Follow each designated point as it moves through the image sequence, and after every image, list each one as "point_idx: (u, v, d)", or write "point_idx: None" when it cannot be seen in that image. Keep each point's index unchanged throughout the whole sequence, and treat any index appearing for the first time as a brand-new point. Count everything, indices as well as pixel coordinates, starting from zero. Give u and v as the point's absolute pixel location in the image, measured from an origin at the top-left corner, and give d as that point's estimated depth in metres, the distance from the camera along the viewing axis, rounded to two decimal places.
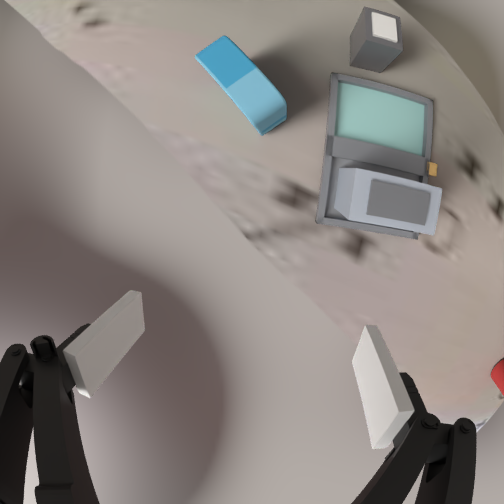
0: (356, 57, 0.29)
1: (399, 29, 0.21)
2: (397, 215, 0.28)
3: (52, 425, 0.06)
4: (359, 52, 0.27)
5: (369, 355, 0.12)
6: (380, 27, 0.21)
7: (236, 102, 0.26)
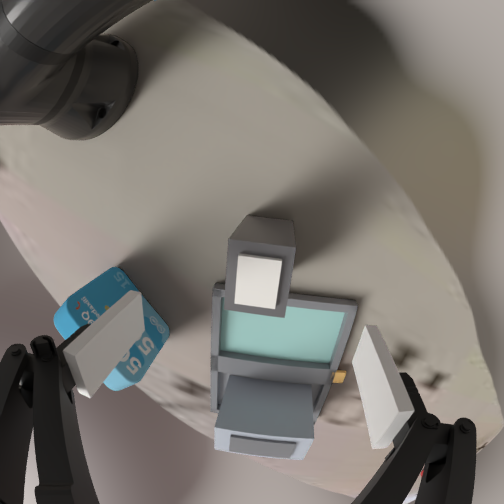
0: None
1: (287, 277, 0.21)
2: (258, 453, 0.28)
3: (52, 425, 0.06)
4: None
5: (369, 355, 0.12)
6: (248, 288, 0.21)
7: None
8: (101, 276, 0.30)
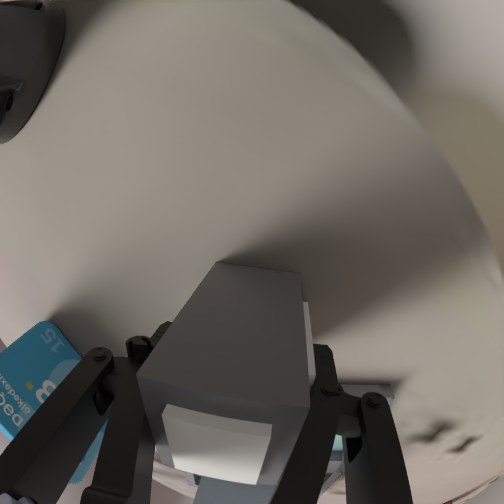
0: None
1: (284, 448, 0.07)
2: None
3: (128, 431, 0.06)
4: None
5: None
6: (196, 460, 0.07)
7: None
8: (22, 338, 0.16)
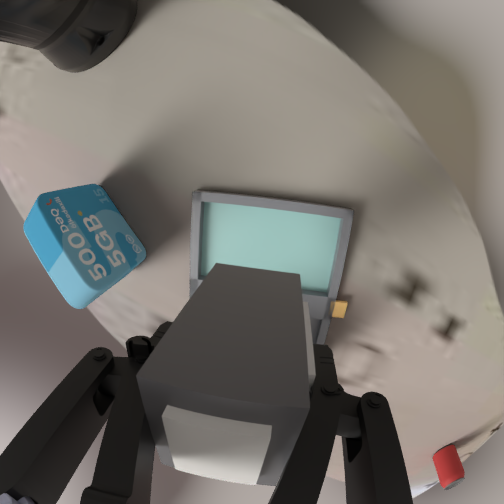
0: None
1: (284, 449, 0.07)
2: None
3: (128, 431, 0.06)
4: None
5: None
6: (196, 460, 0.07)
7: None
8: (80, 187, 0.27)
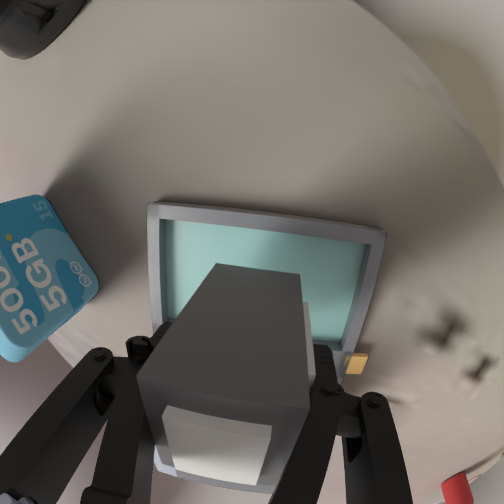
0: None
1: (284, 449, 0.07)
2: (224, 485, 0.15)
3: (128, 431, 0.06)
4: None
5: None
6: (196, 460, 0.07)
7: None
8: (15, 200, 0.17)
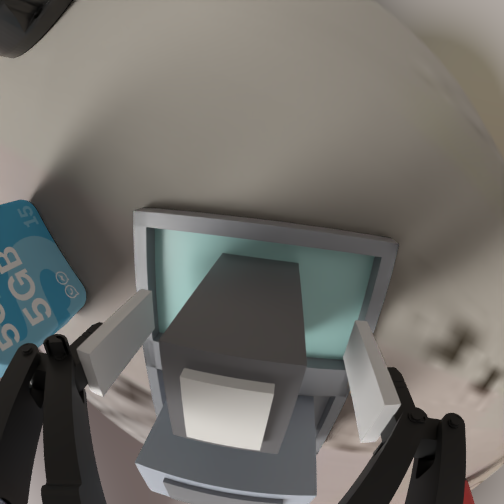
0: None
1: (285, 410, 0.09)
2: None
3: (63, 425, 0.06)
4: None
5: (359, 349, 0.13)
6: (207, 424, 0.09)
7: None
8: None
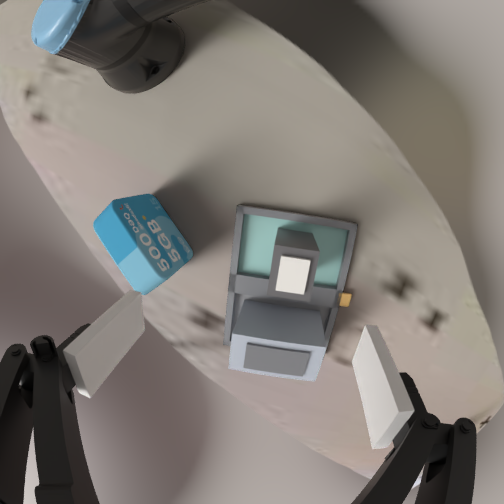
0: None
1: (313, 272, 0.30)
2: (272, 369, 0.33)
3: (52, 425, 0.06)
4: None
5: (370, 355, 0.12)
6: (286, 279, 0.30)
7: (126, 278, 0.31)
8: (140, 195, 0.36)
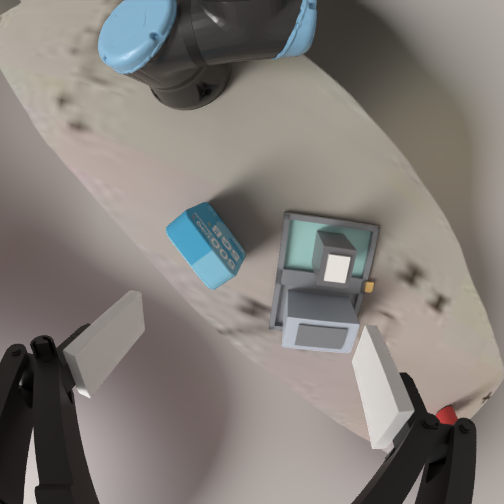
0: (314, 269, 0.45)
1: (352, 266, 0.38)
2: (318, 344, 0.42)
3: (52, 425, 0.06)
4: (315, 274, 0.44)
5: (369, 355, 0.12)
6: (332, 272, 0.38)
7: (199, 276, 0.40)
8: (201, 204, 0.44)
